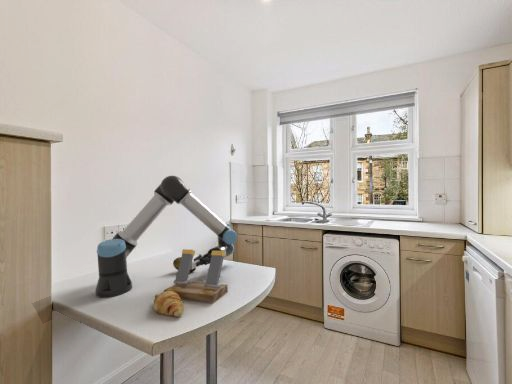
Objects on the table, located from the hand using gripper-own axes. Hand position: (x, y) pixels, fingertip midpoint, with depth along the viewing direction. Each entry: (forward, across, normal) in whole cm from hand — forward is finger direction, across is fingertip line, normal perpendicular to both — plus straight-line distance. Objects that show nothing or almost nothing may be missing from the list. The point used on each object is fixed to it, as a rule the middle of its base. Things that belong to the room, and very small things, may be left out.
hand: (190, 266), depth 123 cm
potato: (-18, +18, -10) cm, 27 cm away
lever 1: (+7, 0, -5) cm, 9 cm away
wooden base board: (+8, -8, -9) cm, 14 cm away
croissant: (+23, -5, -10) cm, 25 cm away
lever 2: (+8, -16, -5) cm, 18 cm away
